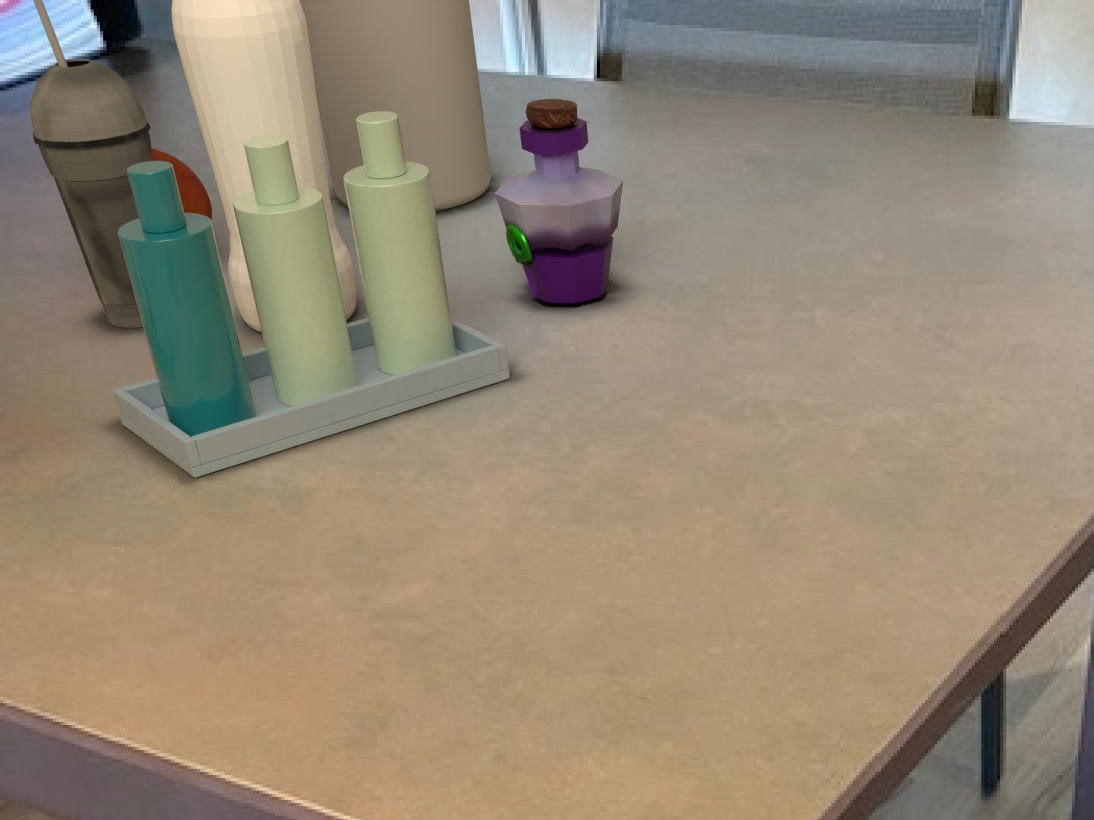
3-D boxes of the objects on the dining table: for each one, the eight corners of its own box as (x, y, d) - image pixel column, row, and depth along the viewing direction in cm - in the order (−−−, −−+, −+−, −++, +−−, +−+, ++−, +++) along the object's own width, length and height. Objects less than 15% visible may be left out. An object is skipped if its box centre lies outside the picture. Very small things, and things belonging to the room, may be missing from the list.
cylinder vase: (479, 163, 137) (432, -205, 121) (504, 206, 128) (456, -185, 112) (329, 180, 135) (259, -193, 118) (343, 225, 126) (270, -172, 109)
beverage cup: (195, 328, 111) (110, -16, 97) (84, 340, 109) (-19, -5, 96) (196, 292, 116) (114, -38, 102) (89, 303, 115) (-8, -29, 101)
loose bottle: (193, 448, 94) (123, 187, 85) (156, 422, 97) (86, 167, 88) (271, 424, 97) (212, 166, 87) (234, 399, 100) (173, 148, 90)
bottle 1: (384, 305, 113) (290, -239, 93) (310, 346, 107) (192, -222, 87) (292, 289, 116) (181, -242, 95) (215, 328, 110) (80, -225, 90)
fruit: (191, 283, 117) (161, 161, 112) (78, 278, 119) (43, 158, 113) (243, 243, 124) (217, 126, 118) (136, 239, 125) (105, 123, 120)
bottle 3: (402, 383, 101) (359, 133, 91) (362, 360, 104) (317, 116, 94) (472, 362, 103) (437, 116, 94) (430, 340, 106) (393, 100, 97)
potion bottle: (482, 303, 113) (455, 109, 104) (557, 264, 118) (537, 78, 110) (583, 324, 109) (564, 125, 101) (656, 283, 114) (643, 92, 106)
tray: (194, 478, 93) (185, 442, 91) (121, 424, 99) (111, 389, 97) (510, 378, 102) (506, 344, 101) (426, 335, 108) (421, 302, 107)
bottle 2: (299, 414, 98) (244, 159, 88) (261, 390, 100) (204, 141, 91) (373, 392, 100) (327, 140, 90) (334, 369, 103) (285, 123, 93)
